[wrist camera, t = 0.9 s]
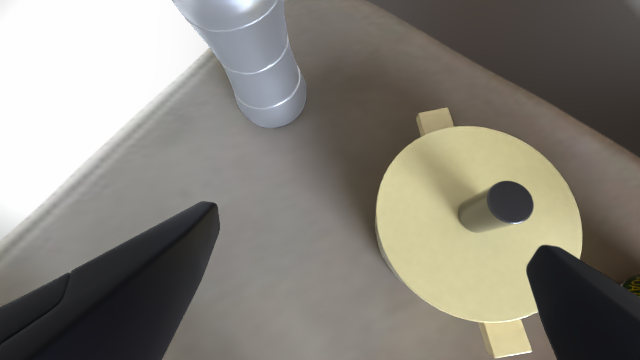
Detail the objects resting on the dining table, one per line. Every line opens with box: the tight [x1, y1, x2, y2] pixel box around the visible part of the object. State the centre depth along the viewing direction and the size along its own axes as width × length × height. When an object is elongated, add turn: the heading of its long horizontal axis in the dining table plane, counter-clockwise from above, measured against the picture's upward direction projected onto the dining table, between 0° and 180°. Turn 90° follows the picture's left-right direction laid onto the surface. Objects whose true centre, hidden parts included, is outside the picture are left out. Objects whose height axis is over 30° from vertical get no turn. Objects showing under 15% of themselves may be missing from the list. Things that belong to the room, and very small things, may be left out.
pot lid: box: [375, 126, 582, 323], centre depth 19 cm, size 13×13×6 cm
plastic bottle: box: [172, 0, 307, 128], centre depth 21 cm, size 6×7×20 cm
